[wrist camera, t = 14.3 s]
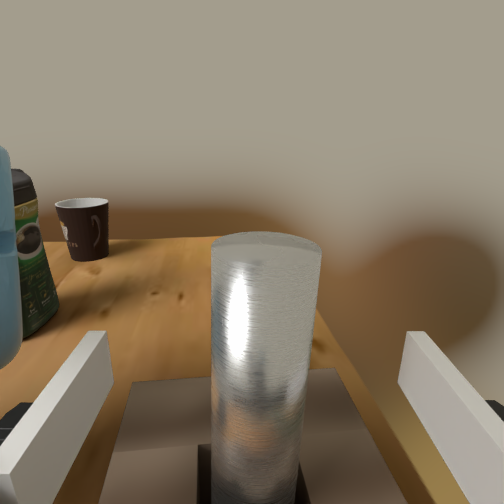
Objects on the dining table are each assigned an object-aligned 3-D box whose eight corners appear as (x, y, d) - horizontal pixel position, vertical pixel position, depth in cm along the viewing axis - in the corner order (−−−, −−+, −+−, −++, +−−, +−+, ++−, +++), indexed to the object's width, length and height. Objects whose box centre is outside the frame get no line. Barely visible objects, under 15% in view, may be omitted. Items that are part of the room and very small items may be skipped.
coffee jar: (12, 304, 48) (-22, 163, 41) (69, 305, 47) (44, 165, 41) (-48, 346, 39) (-102, 174, 32) (24, 348, 38) (-18, 176, 32)
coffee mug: (69, 249, 69) (60, 198, 65) (116, 246, 71) (110, 197, 67) (55, 272, 58) (44, 213, 55) (111, 267, 60) (103, 210, 57)
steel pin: (196, 548, 19) (190, 242, 13) (253, 500, 21) (268, 226, 16) (244, 626, 16) (263, 276, 10) (303, 560, 18) (344, 251, 13)
